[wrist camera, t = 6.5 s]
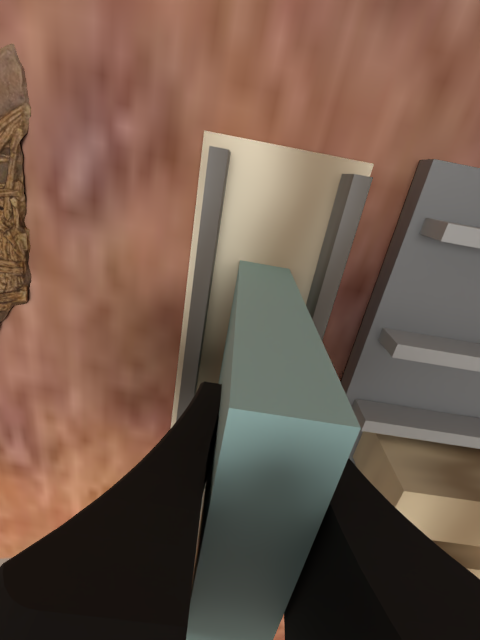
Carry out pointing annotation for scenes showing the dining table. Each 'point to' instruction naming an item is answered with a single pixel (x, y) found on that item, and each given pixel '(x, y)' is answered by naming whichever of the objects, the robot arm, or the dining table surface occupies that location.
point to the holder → (263, 238)
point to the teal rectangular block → (266, 460)
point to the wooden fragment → (13, 183)
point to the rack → (424, 318)
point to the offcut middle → (426, 483)
